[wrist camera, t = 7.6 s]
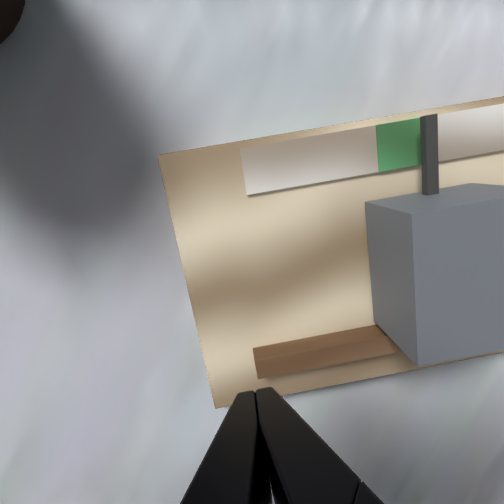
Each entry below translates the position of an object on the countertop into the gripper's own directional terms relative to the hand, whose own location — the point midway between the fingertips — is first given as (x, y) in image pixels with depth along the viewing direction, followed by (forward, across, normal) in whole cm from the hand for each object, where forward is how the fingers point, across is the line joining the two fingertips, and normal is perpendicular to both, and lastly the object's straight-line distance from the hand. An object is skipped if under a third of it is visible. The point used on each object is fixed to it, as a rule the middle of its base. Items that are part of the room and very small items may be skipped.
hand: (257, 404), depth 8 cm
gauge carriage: (+8, -12, -2) cm, 14 cm away
